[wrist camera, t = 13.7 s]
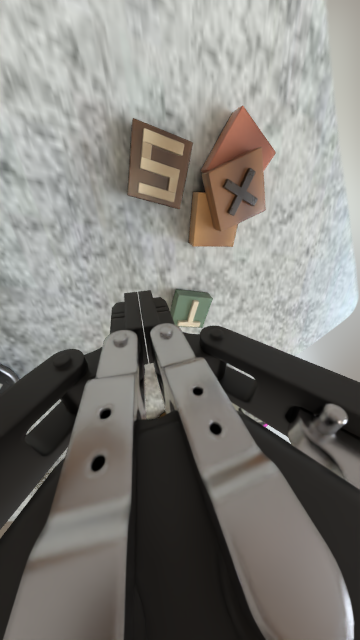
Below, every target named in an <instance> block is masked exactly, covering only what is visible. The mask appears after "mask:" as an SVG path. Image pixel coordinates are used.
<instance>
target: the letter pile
mask: <svg viewBox="0 0 360 640" xmlns="http://www.w3.org/2000/svg"><path fill="white" fill-rule="evenodd" d="M275 153H276V152H275V151H274V149H273V148H272V146H271V145H270V144H269V142H268V141H267V139H266V138H265V136H264V135H263V134H262V132H261V131H260V129H259V128H258V126H257V125H256V124H255V122H254V121H253V119H252V118H251V116H250V115H249V113H248V112H247V111H246V109H245V108H244V106H241V107H240V108H238V109H237V110H236V111H234V112H233V113H232V114H231V116H230V118H229V120H228V121H227V123H226V125H225V127H224V129H223V131H222V132H221V134H220V136H219V138H218V140H217V142H216V143H215V145H214V147H213V149H212V151H211V153H210V154H209V156H208V158H207V160H206V162H205V163H204V165H203V167H202V169H201V172H202V173H203V174H201V175H202V180H203V184H204V188H205V192H193V196H192V208H191V220H190V231H189V243H190V244H191V245H192V246H224V247H233V244H234V239H235V235H236V230H237V226H238V223H240V222H242V221H244V220H246V219H248V218H250V217H253V216H255V215H257V214H259V213H261V212H263V211H265V210H266V209H265V192H264V175H263V171H264V170H265V168H266V167H267V165H268V164H269V162H270V161H271V159H272V158H273V156H274V155H275Z"/></svg>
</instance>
